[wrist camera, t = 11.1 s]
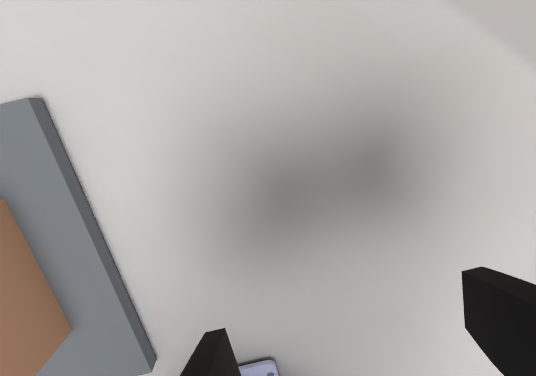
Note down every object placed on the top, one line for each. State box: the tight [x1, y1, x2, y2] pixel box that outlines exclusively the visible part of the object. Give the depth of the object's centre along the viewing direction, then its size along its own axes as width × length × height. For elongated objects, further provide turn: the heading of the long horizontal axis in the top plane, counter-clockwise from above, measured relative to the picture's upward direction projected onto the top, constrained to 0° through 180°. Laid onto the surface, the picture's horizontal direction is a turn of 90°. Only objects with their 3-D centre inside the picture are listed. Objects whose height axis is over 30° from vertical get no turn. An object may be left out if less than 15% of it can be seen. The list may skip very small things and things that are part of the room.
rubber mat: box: [0, 98, 157, 376], centre depth 17 cm, size 18×12×1 cm, turn 14°
